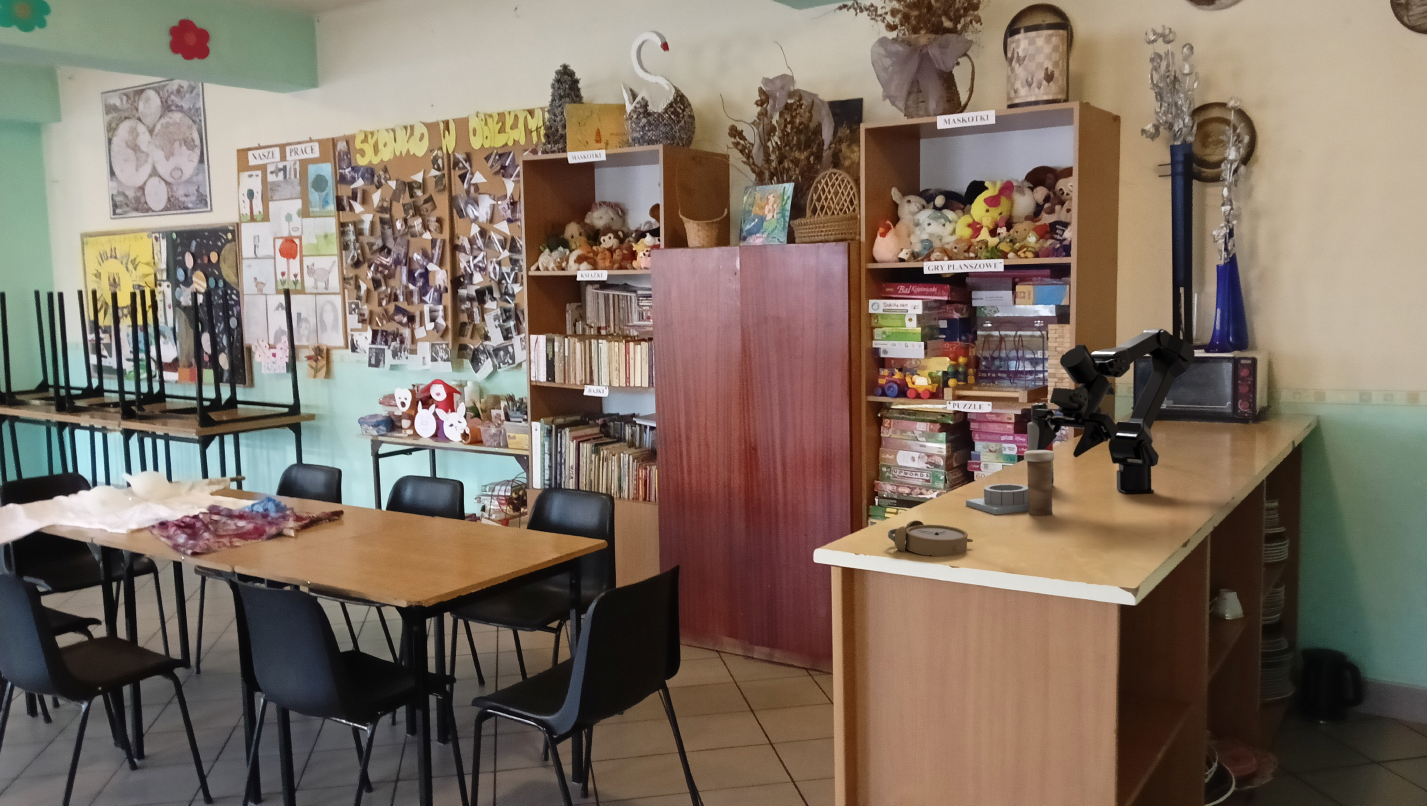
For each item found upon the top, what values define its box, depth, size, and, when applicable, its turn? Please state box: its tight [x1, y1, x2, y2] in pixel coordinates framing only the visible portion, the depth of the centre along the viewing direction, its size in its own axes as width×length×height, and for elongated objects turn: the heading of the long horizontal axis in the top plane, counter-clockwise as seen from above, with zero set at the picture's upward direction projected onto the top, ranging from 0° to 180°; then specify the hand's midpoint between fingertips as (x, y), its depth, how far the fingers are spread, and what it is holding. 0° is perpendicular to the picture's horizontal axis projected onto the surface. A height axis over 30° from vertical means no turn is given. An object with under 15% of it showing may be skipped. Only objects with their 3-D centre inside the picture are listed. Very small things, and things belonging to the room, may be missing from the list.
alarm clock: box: [887, 520, 974, 557], centre depth 199 cm, size 11×5×15 cm
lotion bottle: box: [1027, 401, 1055, 487], centre depth 255 cm, size 6×6×20 cm
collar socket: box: [965, 483, 1028, 516], centre depth 233 cm, size 13×12×4 cm
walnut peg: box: [1023, 450, 1055, 517], centre depth 224 cm, size 6×6×13 cm
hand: (1056, 454), depth 227 cm, fingers open, 9 cm apart
